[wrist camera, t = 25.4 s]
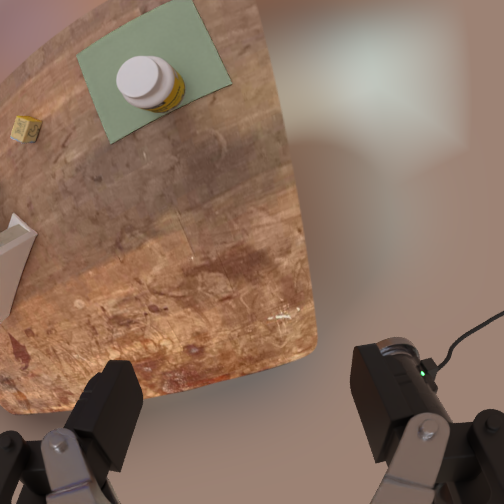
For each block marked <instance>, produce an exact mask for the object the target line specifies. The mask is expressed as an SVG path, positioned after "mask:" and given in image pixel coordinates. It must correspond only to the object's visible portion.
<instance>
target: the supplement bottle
mask: <svg viewBox="0 0 504 504" xmlns="http://www.w3.org/2000/svg"><path fill="white" fill-rule="evenodd" d="M116 83H117V87H118V89H119V90H120V92H121V93H122V95H123V97H124V98H125V100H126V101H127V102H128V103H130V104H131V105H133V106H135V107H137V108H140V109H144V110H147V111H151V112H154V113H166V112H169V111H172V110H173V109H175V108H176V107H178V106H179V105H180V103H181V102H182V100H183V98H184V96H185V92H186V86H185V82H184V80H183V78H182V77H181V75H180V74H179V73H178V72H177V71H176V70H175V69H174V68H173V67H172V66H171V65H170V64H169V63H167V62H166V61H165V60H163V59H162V58H159V57H156V56H136V57H133V58H130V59H129V60H127V61H126V62H125V63H124V64H123V65H122V66H121V67H120V69H119V71H118V73H117V78H116Z"/></svg>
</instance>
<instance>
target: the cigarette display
mask: <svg viewBox="0 0 504 504" xmlns="http://www.w3.org/2000/svg"><path fill="white" fill-rule="evenodd" d="M37 235H38V233H37V232H36V231H35V230H34V229H33V230H32V229H31V228H30V227H29V226H28V225H27V224H26V223H25V222H24V221H23V220H22V219H21V218H20V217H18V216H17V215H16V214H15V213H13V214H12V217H11V220H10V223H9V226H8V229H6V230H4V231H2V232H0V323H1V322H3V321H4V320H5V319H6V318H7V317H8V316H9V315H10V310H11V306H12V303H13V299H14V296H15V293H16V290H17V286H18V283H19V280H20V277H21V274H22V271H23V269H24V266H25V263H26V260H27V258H28V255H29V252H30V250H31V247H32V245H33V242H34V240H35V237H36V236H37Z"/></svg>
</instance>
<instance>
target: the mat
mask: <svg viewBox="0 0 504 504" xmlns="http://www.w3.org/2000/svg"><path fill="white" fill-rule="evenodd" d="M76 56H77V59H78V62H79V65H80V67H81V70H82V73H83V76H84V78H85V81H86V84H87V87H88V89H89V92H90V95H91V97H92V100H93V102H94V105H95V107H96V110H97V112H98V115H99V117H100V120H101V122H102V125H103V127H104V130H105V132H106V134H107V137H108V139H109V142H110V144H113V143H115V142H116V141H118V140H120V139H121V138H123V137H125V136H127V135H128V134H130V133H132V132H134V131H135V130H137V129H139V128H141V127H143V126H144V125H146V124H148V123H150V122H152V121H154V120H156V119H158V118H160V117H162V116H164V115H165V114H167V113H169V112H171V111H169V112H166V113H154V112H151V111H147V110H144V109H140V108H137V107H135V106H133V105H131V104H130V103H128V102H127V101H126V100H125V98H124V97H123V95H122V93H121V92H120V90H119V89H118V87H117V83H116V78H117V73H118V71H119V69H120V67H121V66H122V65H123V64H124V63H125V62H126V61H127V60H129V59H130V58H133V57H136V56H156V57H159V58H162V59H163V60H165V61H166V62H167V63H169V64H170V65H171V66H172V67H173V68H174V69H175V70H176V71H177V72H178V73H179V74H180V75H181V77H182V78H183V80H184V82H185V86H186V92H185V96H184V98H183V100H182V102H181V103H180V105H179V106H178V107H176V108H175V109H173V110H176V109H178V108H180V107H182V106H184V105H186V104H188V103H190V102H192V101H194V100H197V99H199V98H201V97H203V96H205V95H208V94H210V93H212V92H215V91H217V90H219V89H222V88H224V87H226V86H229V85H231V84H232V82H231V80H230V78H229V76H228V74H227V71H226V69H225V67H224V65H223V63H222V61H221V59H220V57H219V54H218V52H217V50H216V48H215V46H214V44H213V42H212V40H211V38H210V36H209V34H208V32H207V30H206V28H205V26H204V24H203V22H202V19H201V17H200V15H199V13H198V12H197V10H196V8H195V6H194V4H193V2H192V0H172V1H170V2H168V3H165V4H163V5H161V6H159V7H157V8H155V9H153V10H151V11H149V12H147V13H145V14H143V15H141V16H139V17H137V18H135V19H134V20H132V21H130V22H128V23H126V24H125V25H123V26H121V27H119V28H118V29H116V30H114V31H112V32H111V33H109V34H108V35H106V36H104V37H103V38H101V39H99V40H98V41H96V42H95V43H93V44H92V45H90V46H89V47H87V48H86V49H84V50H83V51H81V52H80V53H78V54H77V55H76ZM173 110H172V111H173Z"/></svg>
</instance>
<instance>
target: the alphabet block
mask: <svg viewBox="0 0 504 504" xmlns="http://www.w3.org/2000/svg"><path fill="white" fill-rule="evenodd" d="M41 123H42V121H40V120H37V119H35V118H32V117H30V116H17V117H16V120H15V123H14V127H13V130H12V133H11V138H12V139H14V140H16V141H19V142H21V143H35V141H36V138H37V135H38V132H39V129H40V126H41Z"/></svg>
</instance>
